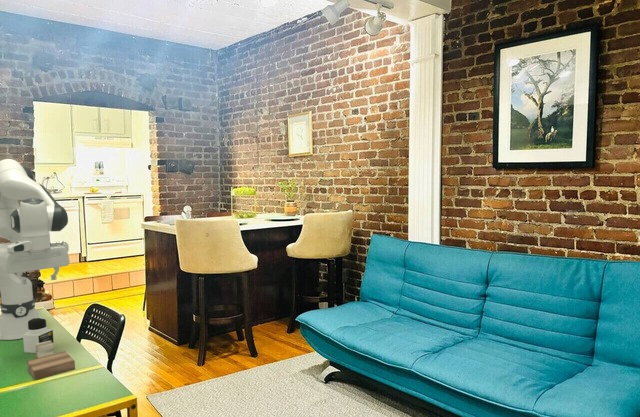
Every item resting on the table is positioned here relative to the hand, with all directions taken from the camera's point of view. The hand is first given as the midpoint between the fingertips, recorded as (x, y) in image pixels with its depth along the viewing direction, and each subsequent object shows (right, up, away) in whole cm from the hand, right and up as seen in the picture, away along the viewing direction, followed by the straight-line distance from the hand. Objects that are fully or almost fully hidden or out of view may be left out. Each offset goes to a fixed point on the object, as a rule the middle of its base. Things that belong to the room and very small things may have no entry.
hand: (39, 282), depth 173 cm
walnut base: (+9, -28, -9) cm, 31 cm away
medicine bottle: (-6, -28, +10) cm, 30 cm away
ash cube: (+1, -28, +2) cm, 28 cm away
